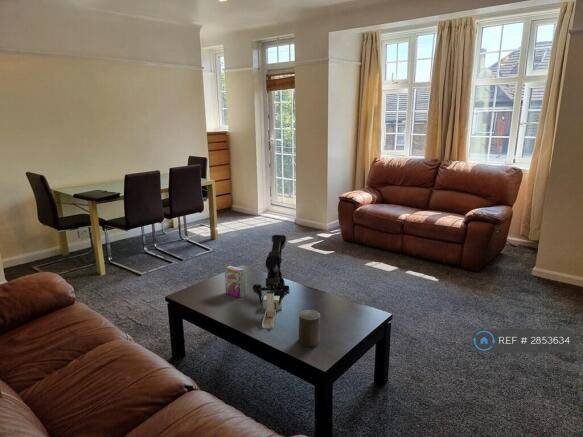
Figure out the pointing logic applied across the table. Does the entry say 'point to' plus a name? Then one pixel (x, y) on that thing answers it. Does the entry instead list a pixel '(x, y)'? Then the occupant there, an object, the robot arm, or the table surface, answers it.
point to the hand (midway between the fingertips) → (270, 305)
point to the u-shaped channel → (268, 321)
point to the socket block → (276, 300)
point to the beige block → (270, 303)
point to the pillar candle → (309, 328)
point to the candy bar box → (235, 281)
